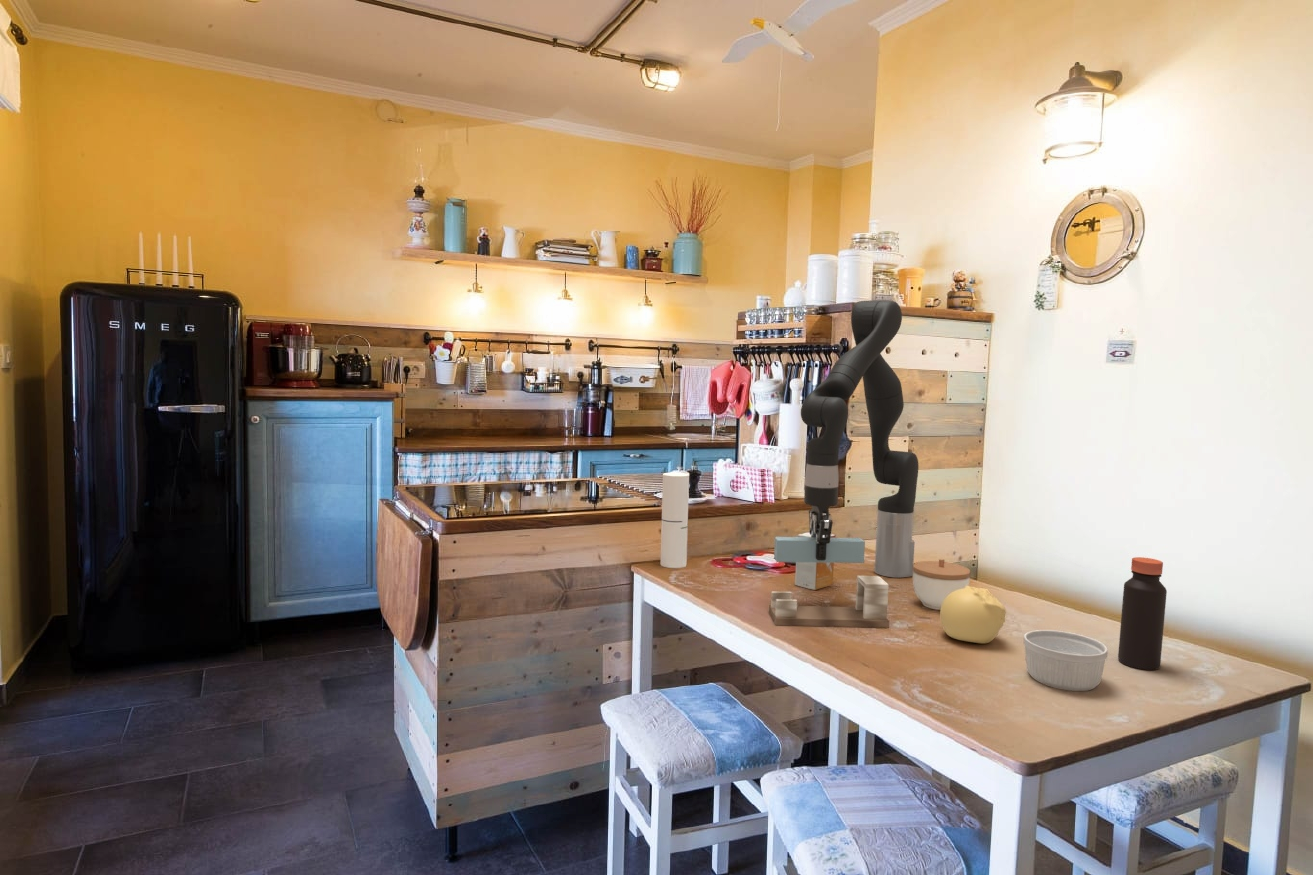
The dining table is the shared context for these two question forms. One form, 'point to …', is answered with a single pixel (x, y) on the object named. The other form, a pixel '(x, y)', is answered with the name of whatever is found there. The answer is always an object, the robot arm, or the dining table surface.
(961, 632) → the yellow clay lump
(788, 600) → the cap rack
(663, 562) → the cylindrical container
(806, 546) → the slat
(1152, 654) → the bottle
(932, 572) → the lidded bowl
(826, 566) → the small box
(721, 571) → the dining table surface
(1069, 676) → the ramekin
